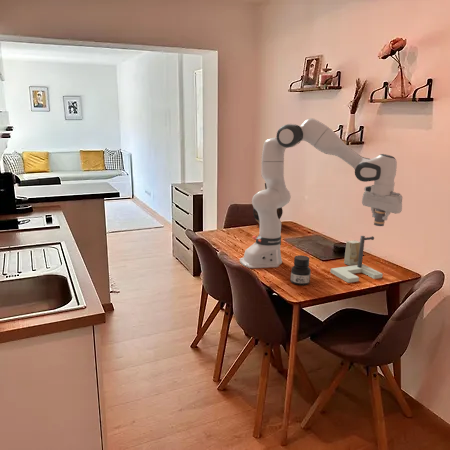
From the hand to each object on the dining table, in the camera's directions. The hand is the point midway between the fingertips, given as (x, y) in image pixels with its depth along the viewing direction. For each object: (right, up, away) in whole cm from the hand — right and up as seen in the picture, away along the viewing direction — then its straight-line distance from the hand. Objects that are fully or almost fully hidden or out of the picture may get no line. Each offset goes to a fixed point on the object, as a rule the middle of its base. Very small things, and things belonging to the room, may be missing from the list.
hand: (379, 218), depth 196 cm
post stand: (-8, -27, +7) cm, 29 cm away
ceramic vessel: (-43, -3, +96) cm, 106 cm away
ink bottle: (-38, -30, -3) cm, 49 cm away
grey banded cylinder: (0, -3, +1) cm, 3 cm away
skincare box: (-7, -24, +22) cm, 33 cm away
